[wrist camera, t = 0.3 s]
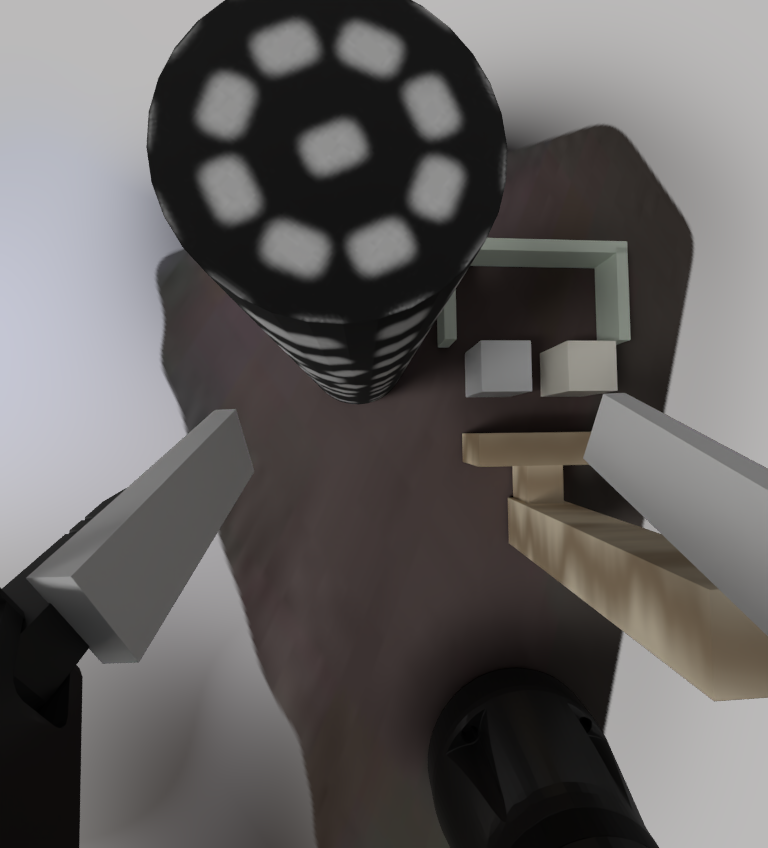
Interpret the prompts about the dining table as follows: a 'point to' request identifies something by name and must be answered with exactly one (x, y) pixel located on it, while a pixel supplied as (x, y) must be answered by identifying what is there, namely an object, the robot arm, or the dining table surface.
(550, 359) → the off-white cube
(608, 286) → the bay
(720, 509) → the robot arm
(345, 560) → the dining table surface
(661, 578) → the cream t-shaped block
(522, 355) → the gray cube
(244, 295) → the spotted tube
